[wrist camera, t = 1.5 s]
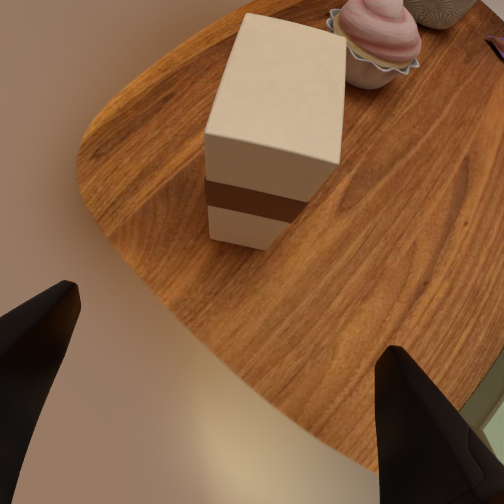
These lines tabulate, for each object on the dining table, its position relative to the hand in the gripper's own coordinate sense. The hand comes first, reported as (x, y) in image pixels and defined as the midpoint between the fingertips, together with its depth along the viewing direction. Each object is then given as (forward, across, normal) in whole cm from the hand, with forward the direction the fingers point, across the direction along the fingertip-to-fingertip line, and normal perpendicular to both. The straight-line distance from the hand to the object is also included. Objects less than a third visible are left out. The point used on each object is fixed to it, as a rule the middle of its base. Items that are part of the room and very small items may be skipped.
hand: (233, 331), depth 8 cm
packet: (+15, 0, +4) cm, 16 cm away
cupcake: (+27, -8, -8) cm, 30 cm away
